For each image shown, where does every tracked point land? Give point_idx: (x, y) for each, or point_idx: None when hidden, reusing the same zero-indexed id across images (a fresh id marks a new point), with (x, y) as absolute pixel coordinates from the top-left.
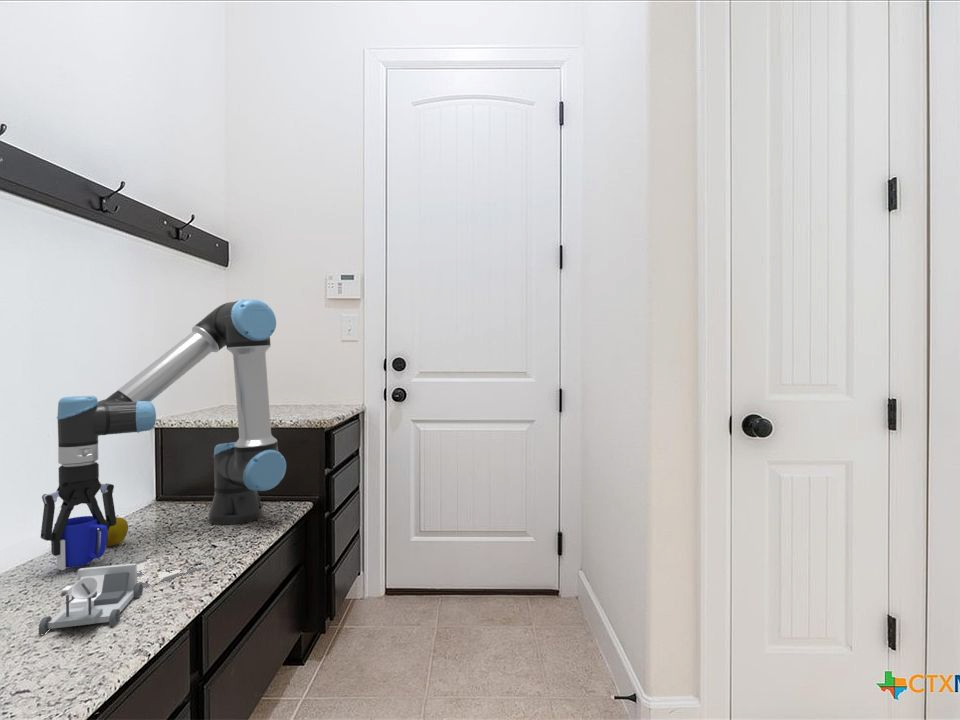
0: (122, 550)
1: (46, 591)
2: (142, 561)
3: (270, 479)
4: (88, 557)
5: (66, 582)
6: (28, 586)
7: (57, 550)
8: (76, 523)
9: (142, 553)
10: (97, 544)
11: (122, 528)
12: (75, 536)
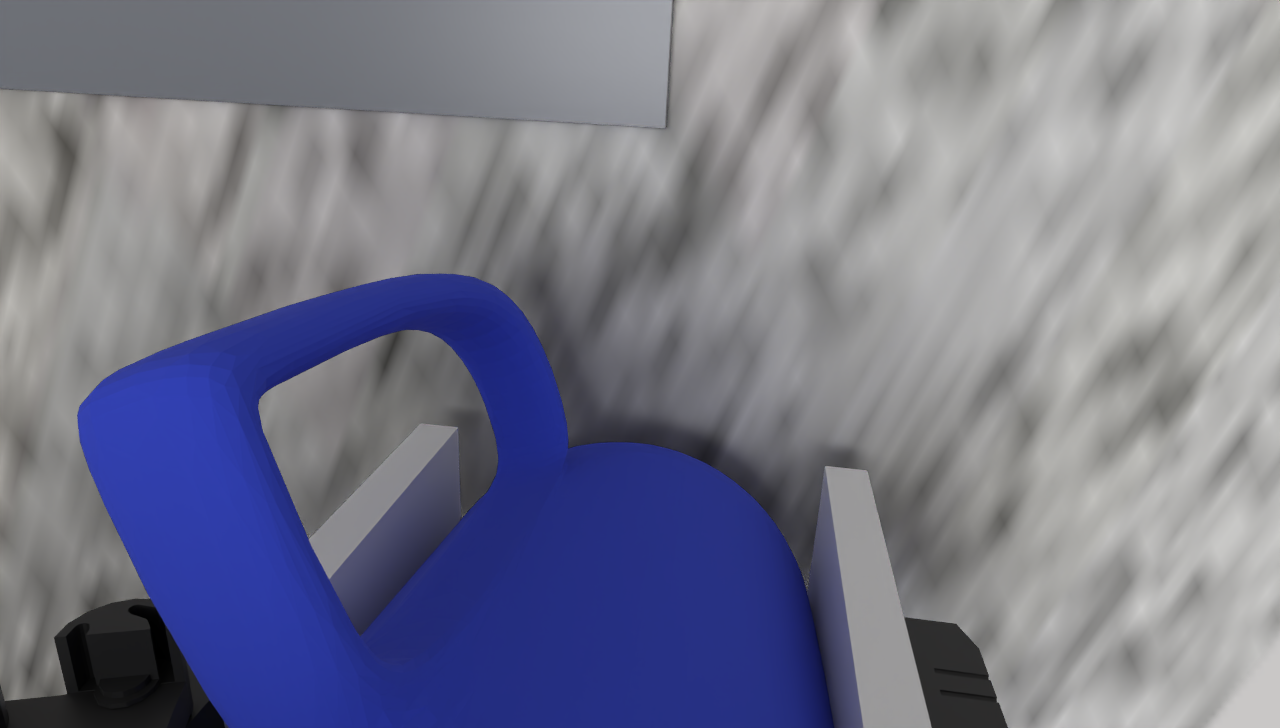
0: None
1: (1267, 45)
2: (140, 40)
3: None
4: (570, 456)
5: (960, 163)
6: (1216, 435)
7: (935, 670)
8: None
9: (66, 367)
10: (387, 583)
11: None
12: (694, 702)
